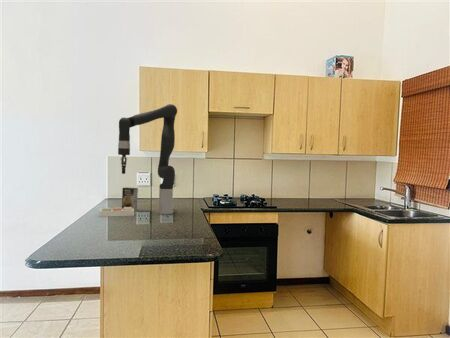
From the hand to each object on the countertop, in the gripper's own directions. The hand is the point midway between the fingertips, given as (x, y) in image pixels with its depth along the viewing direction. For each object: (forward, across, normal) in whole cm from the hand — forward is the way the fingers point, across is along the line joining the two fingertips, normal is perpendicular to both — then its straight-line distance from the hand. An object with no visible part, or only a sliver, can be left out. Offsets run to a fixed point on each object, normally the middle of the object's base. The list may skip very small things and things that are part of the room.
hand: (123, 173), depth 212 cm
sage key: (+25, -5, +10) cm, 28 cm away
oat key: (+25, -5, -3) cm, 26 cm away
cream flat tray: (+27, -5, +4) cm, 28 cm away
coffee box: (+27, +13, -5) cm, 31 cm away
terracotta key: (+25, -5, +4) cm, 26 cm away
